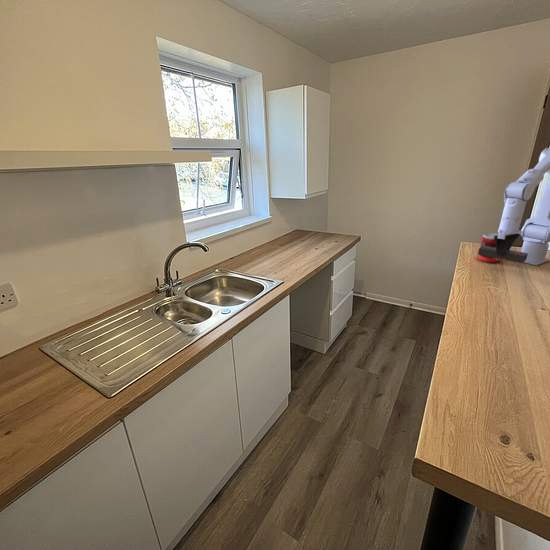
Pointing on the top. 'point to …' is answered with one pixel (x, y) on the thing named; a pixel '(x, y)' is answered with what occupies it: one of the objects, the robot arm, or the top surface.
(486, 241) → the canned food
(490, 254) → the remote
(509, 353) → the top surface
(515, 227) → the robot arm
